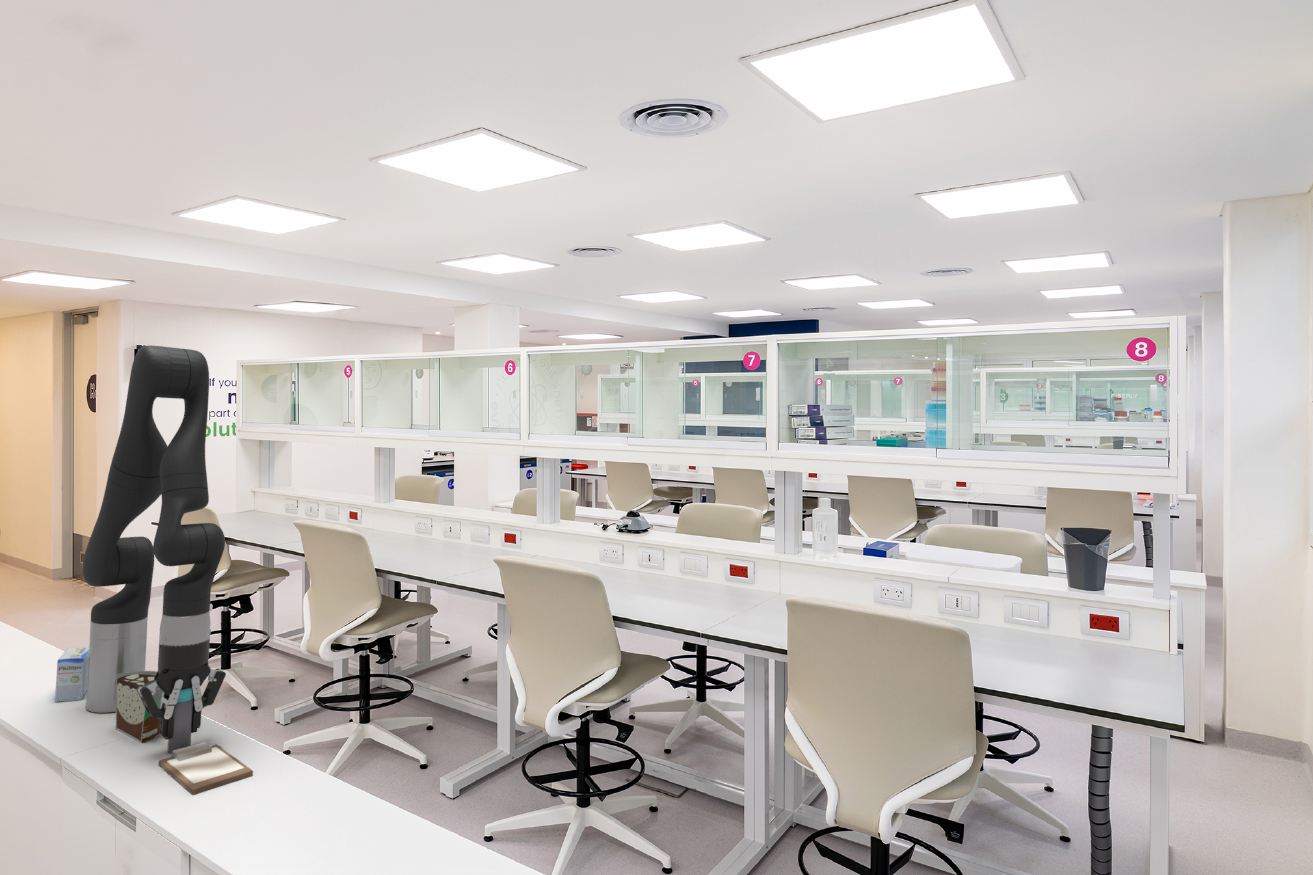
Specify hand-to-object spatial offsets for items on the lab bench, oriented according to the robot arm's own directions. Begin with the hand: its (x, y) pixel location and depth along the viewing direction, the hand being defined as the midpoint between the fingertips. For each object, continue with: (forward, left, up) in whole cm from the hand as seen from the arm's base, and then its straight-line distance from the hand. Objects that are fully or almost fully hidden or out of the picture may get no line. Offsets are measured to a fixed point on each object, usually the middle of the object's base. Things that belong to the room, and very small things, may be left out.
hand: (179, 734), depth 130 cm
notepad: (+11, 0, -3) cm, 11 cm away
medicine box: (-40, -5, -3) cm, 40 cm away
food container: (-12, -1, -3) cm, 12 cm away
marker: (0, 0, -3) cm, 3 cm away
